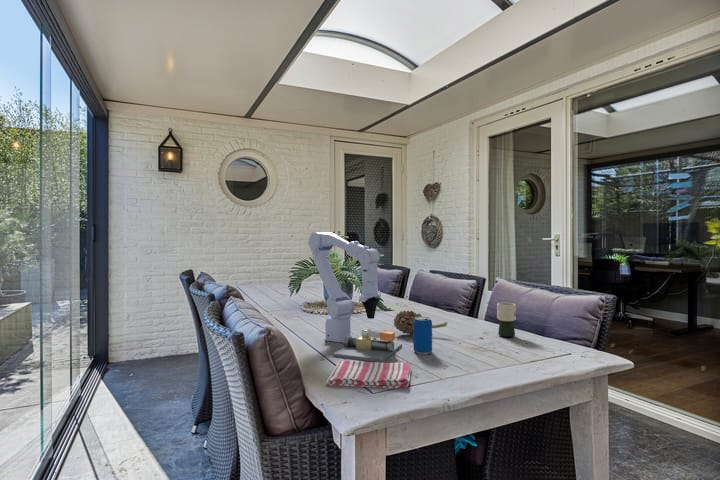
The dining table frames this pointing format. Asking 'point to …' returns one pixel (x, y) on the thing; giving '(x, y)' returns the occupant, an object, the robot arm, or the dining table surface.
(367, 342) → the valve pipe
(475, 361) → the dining table surface
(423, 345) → the beverage can
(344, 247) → the robot arm
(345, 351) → the base board
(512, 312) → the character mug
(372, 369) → the dish towel
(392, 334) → the valve lever
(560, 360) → the dining table surface
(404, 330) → the pine cone
